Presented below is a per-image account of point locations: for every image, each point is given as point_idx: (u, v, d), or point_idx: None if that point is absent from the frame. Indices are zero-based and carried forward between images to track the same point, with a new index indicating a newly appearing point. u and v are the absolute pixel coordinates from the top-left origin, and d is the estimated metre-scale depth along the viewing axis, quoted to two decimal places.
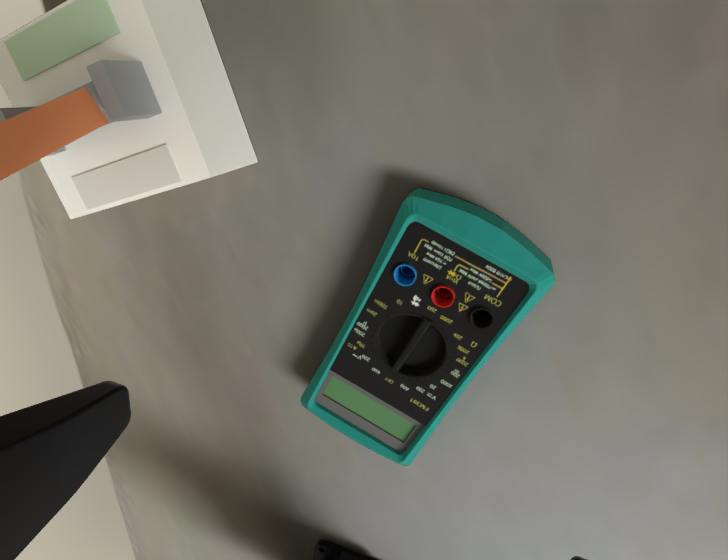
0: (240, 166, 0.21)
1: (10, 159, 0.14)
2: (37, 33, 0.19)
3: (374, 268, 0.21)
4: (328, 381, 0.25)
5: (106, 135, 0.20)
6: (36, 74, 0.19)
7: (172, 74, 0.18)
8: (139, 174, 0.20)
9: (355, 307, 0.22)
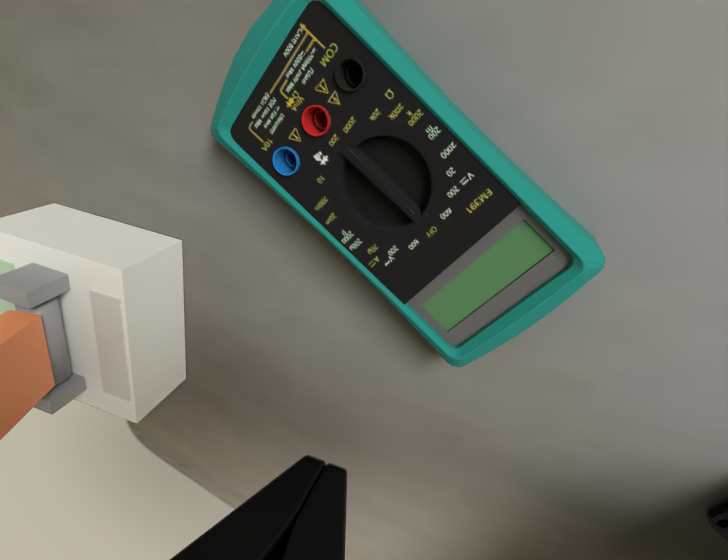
0: (158, 250, 0.21)
1: None
2: None
3: (281, 196, 0.18)
4: (427, 315, 0.18)
5: (78, 335, 0.22)
6: None
7: (45, 244, 0.20)
8: (108, 331, 0.21)
9: (325, 237, 0.18)
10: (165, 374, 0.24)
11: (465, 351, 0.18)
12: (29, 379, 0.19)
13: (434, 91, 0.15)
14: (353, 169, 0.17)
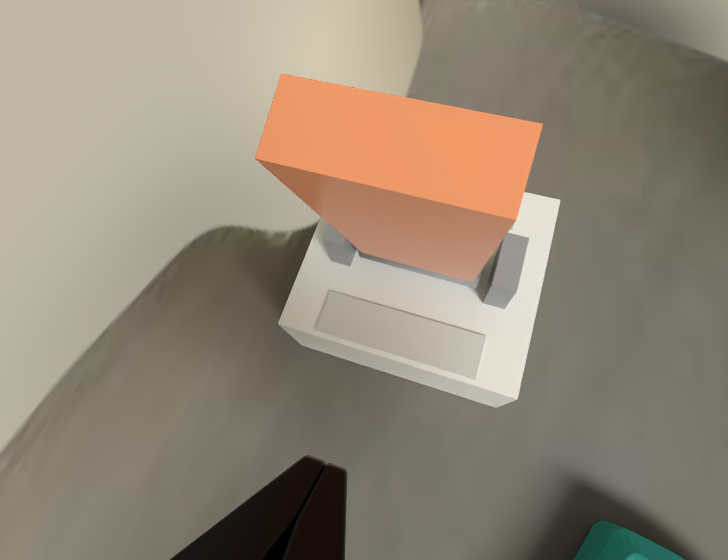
0: (503, 403, 0.17)
1: None
2: None
3: None
4: None
5: (415, 285, 0.17)
6: None
7: (540, 289, 0.16)
8: (426, 341, 0.16)
9: None
10: (327, 348, 0.19)
11: None
12: (397, 257, 0.14)
13: None
14: None
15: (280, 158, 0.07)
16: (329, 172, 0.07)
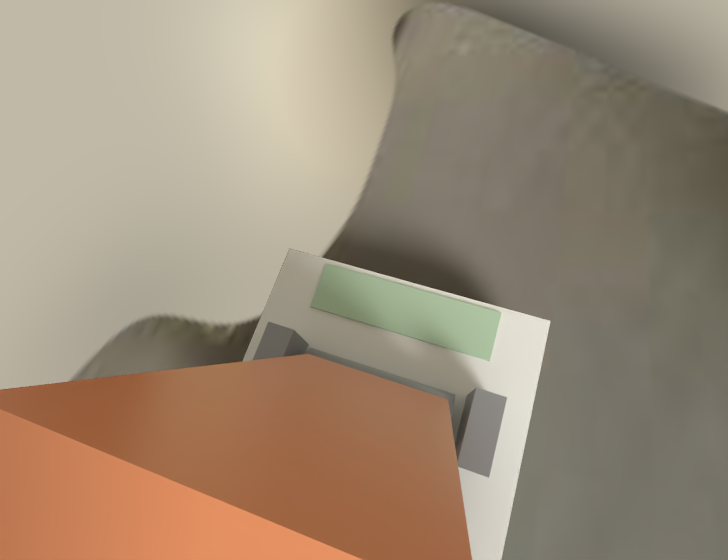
0: None
1: None
2: (378, 287, 0.15)
3: None
4: None
5: None
6: (334, 313, 0.15)
7: (523, 444, 0.13)
8: None
9: None
10: None
11: None
12: None
13: None
14: None
15: None
16: None
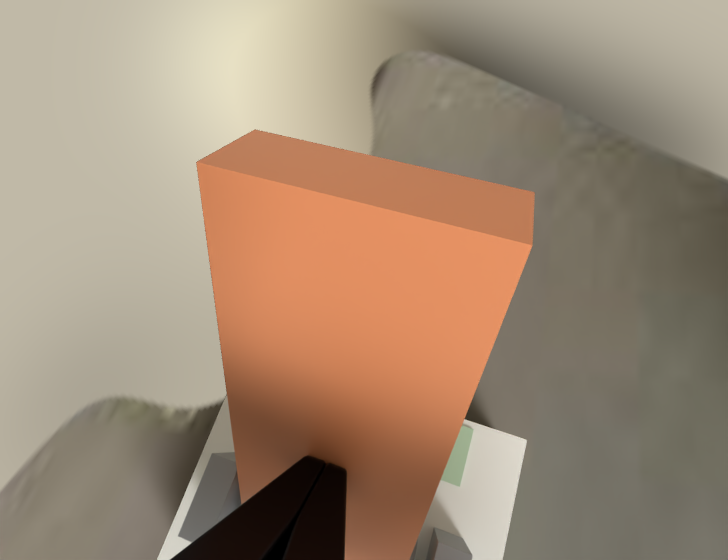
0: None
1: None
2: None
3: None
4: None
5: None
6: None
7: None
8: None
9: None
10: None
11: None
12: None
13: None
14: None
15: (230, 166, 0.05)
16: (290, 183, 0.05)
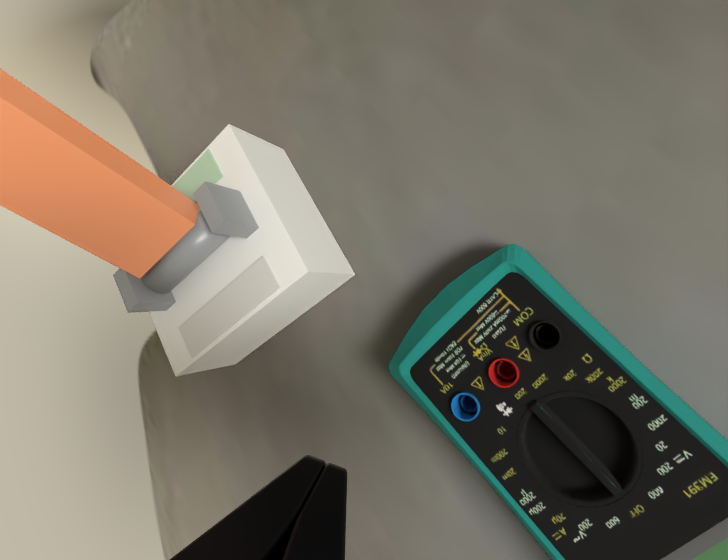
0: (337, 272, 0.20)
1: (88, 147, 0.16)
2: None
3: (452, 440, 0.17)
4: None
5: (210, 272, 0.20)
6: None
7: (266, 191, 0.19)
8: (240, 296, 0.19)
9: (498, 492, 0.16)
10: (231, 354, 0.23)
11: None
12: (129, 242, 0.18)
13: (636, 360, 0.15)
14: (536, 423, 0.16)
15: None
16: None
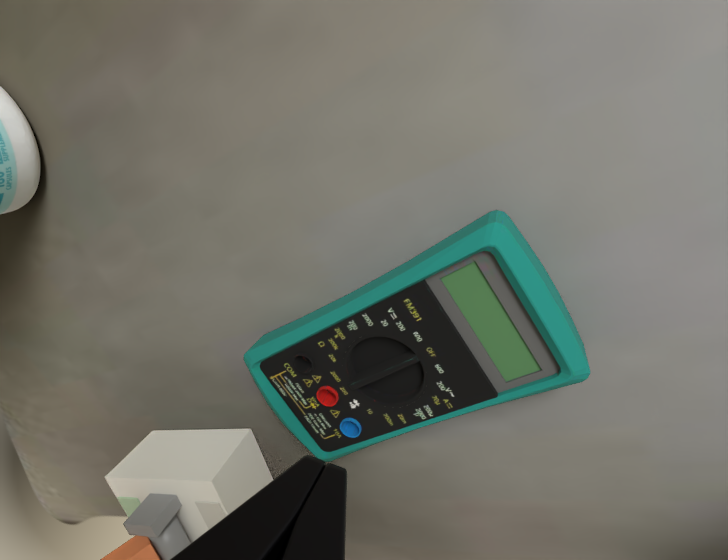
0: (235, 447, 0.25)
1: None
2: None
3: (377, 442, 0.21)
4: (518, 380, 0.18)
5: None
6: None
7: (154, 477, 0.25)
8: None
9: None
10: None
11: (565, 365, 0.17)
12: None
13: (328, 313, 0.20)
14: (372, 383, 0.21)
15: None
16: None
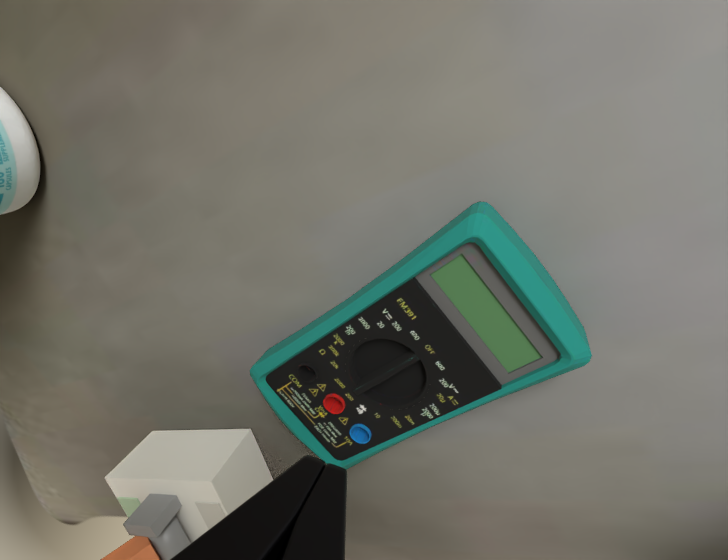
0: (235, 448, 0.25)
1: None
2: None
3: (389, 446, 0.21)
4: (520, 369, 0.18)
5: None
6: None
7: (154, 477, 0.25)
8: None
9: (427, 428, 0.20)
10: None
11: (564, 349, 0.16)
12: None
13: (326, 320, 0.20)
14: (377, 386, 0.21)
15: None
16: None
